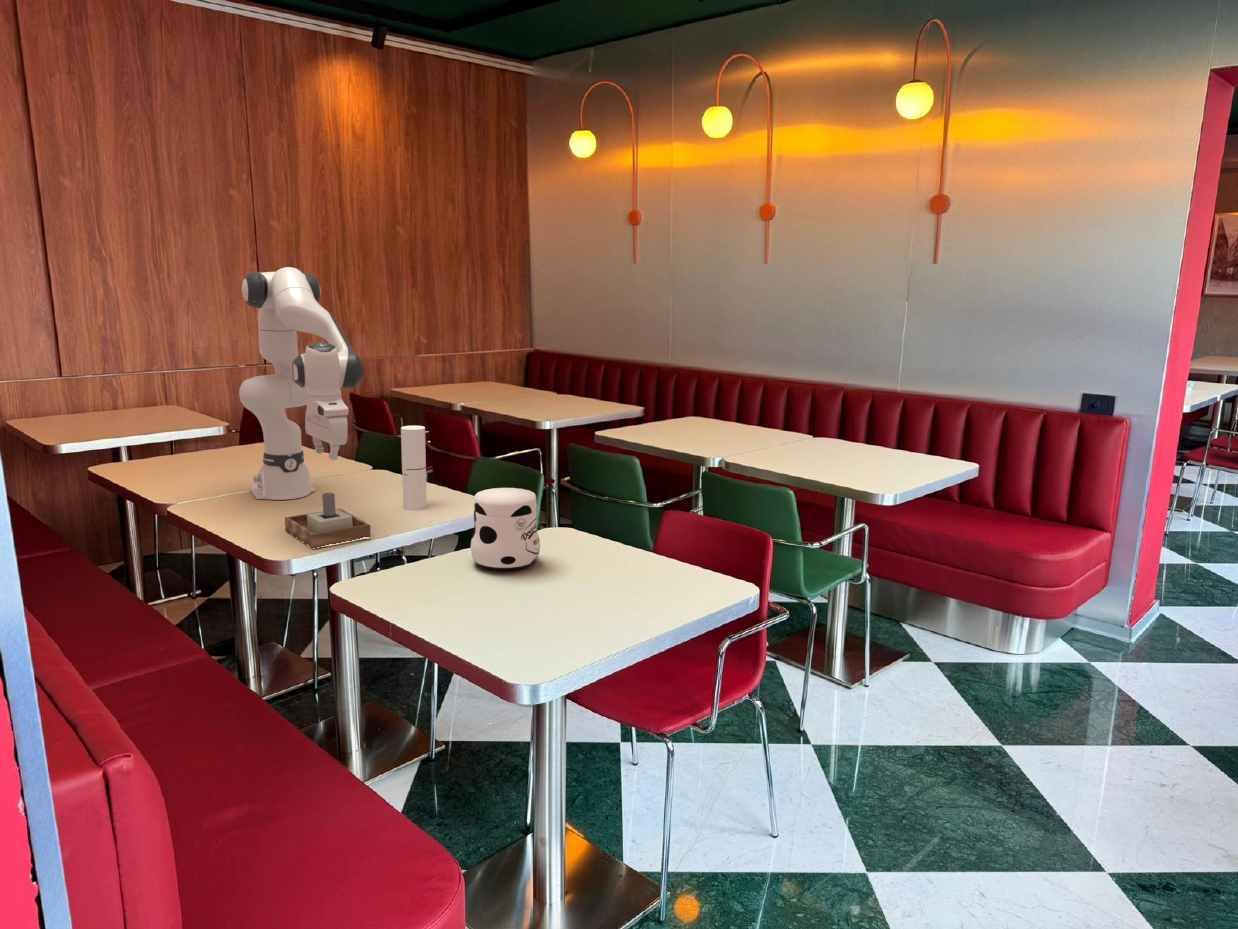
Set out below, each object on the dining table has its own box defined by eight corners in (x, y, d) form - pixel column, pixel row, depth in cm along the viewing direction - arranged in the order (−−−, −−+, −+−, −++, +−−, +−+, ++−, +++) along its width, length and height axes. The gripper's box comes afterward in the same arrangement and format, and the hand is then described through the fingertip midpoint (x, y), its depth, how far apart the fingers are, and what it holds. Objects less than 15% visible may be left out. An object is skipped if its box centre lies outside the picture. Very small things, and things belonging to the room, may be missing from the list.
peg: (322, 532, 237) (320, 493, 235) (334, 530, 239) (331, 492, 237) (327, 535, 235) (324, 495, 233) (338, 533, 237) (336, 494, 235)
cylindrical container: (420, 510, 265) (418, 430, 260) (399, 508, 267) (396, 428, 261) (430, 504, 272) (428, 426, 267) (409, 503, 273) (407, 424, 268)
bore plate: (307, 532, 238) (306, 514, 236) (339, 526, 243) (338, 509, 242) (320, 540, 231) (319, 522, 230) (352, 534, 237) (352, 516, 235)
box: (285, 531, 241) (284, 517, 240) (341, 521, 251) (340, 508, 250) (312, 549, 226) (312, 534, 225) (370, 538, 236) (370, 524, 236)
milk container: (550, 570, 216) (550, 500, 212) (483, 579, 208) (482, 507, 204) (525, 549, 231) (526, 484, 227) (462, 557, 223) (461, 490, 219)
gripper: (297, 400, 235) (300, 450, 238) (327, 411, 220) (329, 464, 223) (320, 399, 239) (323, 448, 242) (351, 409, 224) (353, 461, 227)
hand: (326, 456), depth 232 cm, fingers open, 8 cm apart
